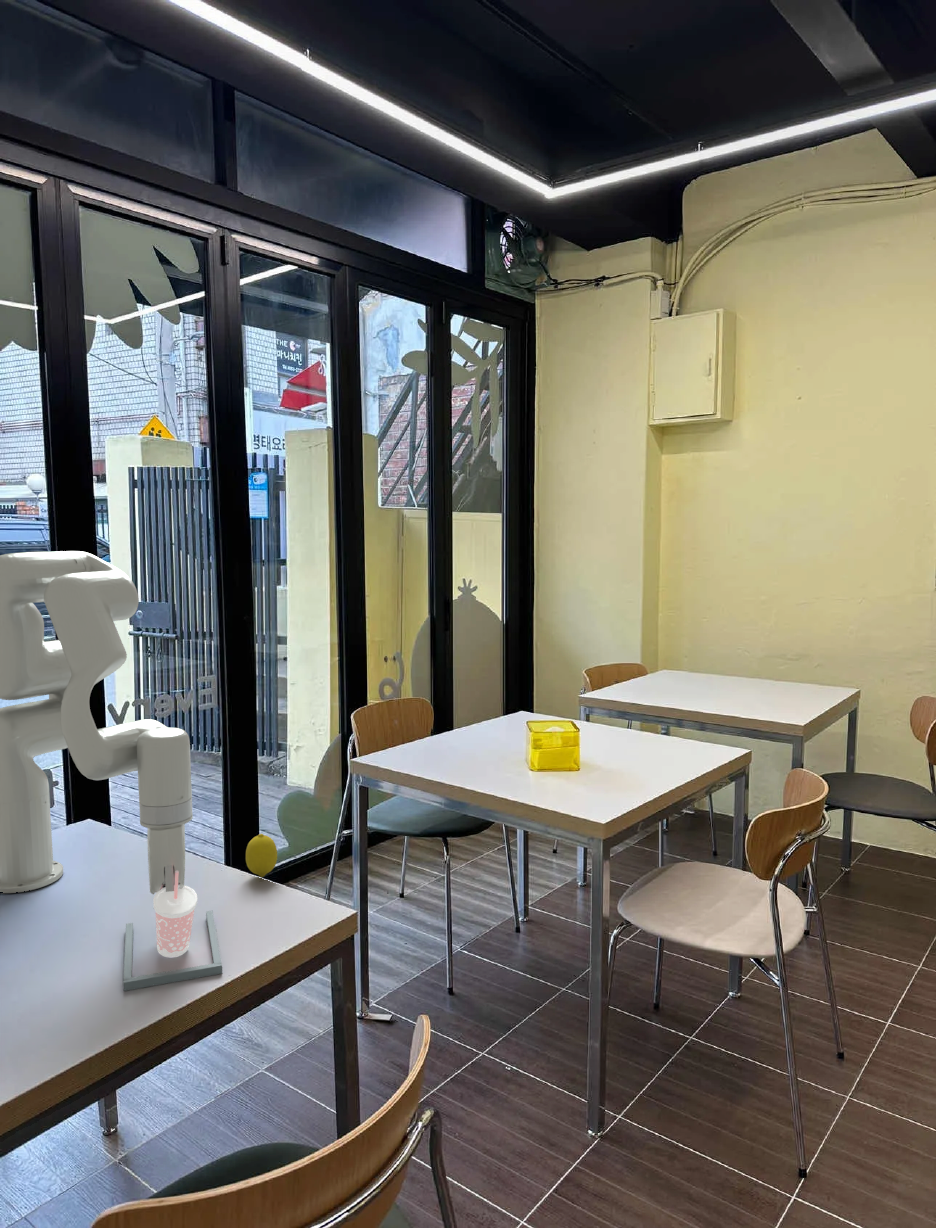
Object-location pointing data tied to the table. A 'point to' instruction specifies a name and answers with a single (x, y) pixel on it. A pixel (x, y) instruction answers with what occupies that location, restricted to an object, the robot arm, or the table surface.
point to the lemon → (261, 855)
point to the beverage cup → (174, 919)
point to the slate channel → (173, 975)
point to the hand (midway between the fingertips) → (170, 926)
